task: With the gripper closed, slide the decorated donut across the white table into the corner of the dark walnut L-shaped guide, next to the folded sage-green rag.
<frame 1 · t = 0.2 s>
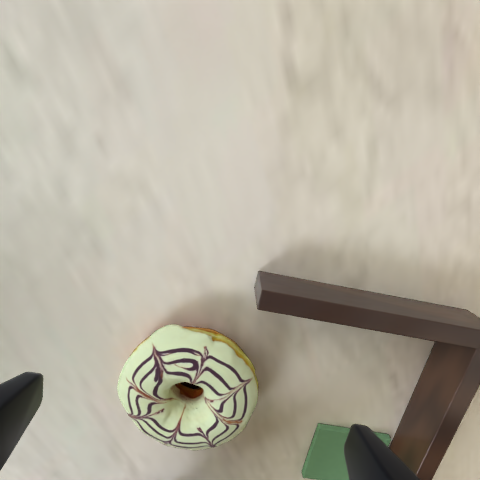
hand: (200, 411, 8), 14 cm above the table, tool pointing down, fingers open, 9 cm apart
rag: (344, 452, 28), on the table
corner guide: (443, 322, 24), on the table
decorated donut: (193, 368, 25), on the table
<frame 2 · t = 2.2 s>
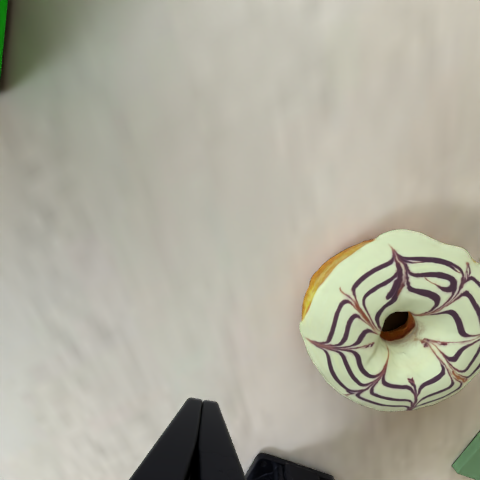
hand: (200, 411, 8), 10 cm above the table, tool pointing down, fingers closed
decorated donut: (378, 305, 19), on the table
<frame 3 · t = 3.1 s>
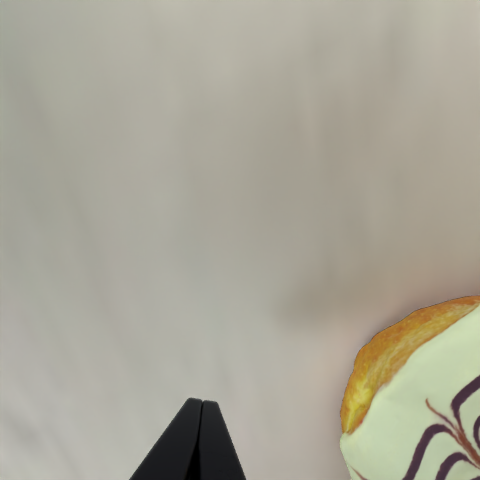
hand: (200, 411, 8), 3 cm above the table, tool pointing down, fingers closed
decorated donut: (458, 390, 12), on the table
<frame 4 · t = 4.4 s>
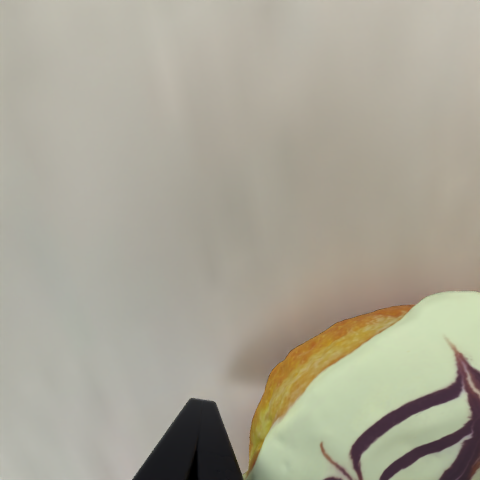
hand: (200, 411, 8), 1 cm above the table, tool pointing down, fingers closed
decorated donut: (401, 417, 10), on the table, touching gripper
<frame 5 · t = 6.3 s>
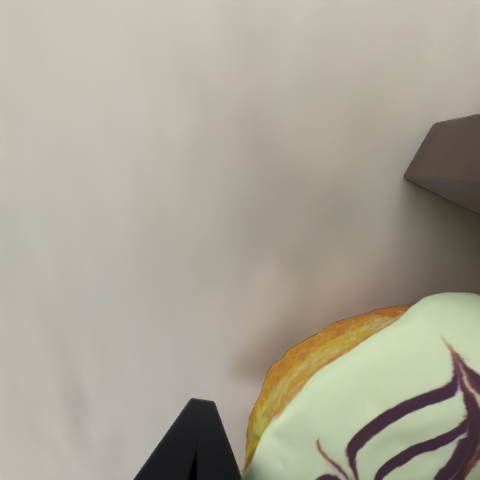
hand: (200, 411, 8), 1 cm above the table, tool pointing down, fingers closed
decorated donut: (397, 417, 10), on the table, touching gripper
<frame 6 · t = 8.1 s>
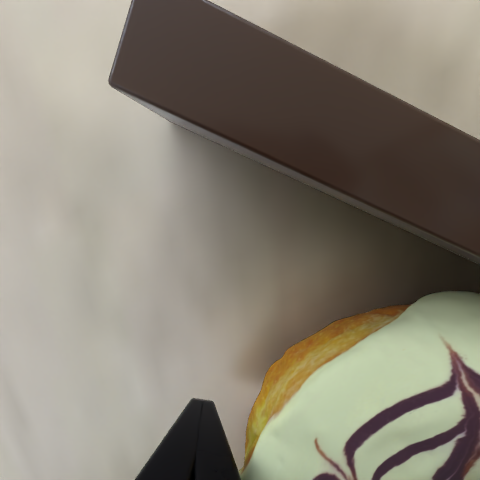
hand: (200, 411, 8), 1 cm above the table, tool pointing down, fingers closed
decorated donut: (398, 417, 10), on the table, touching gripper
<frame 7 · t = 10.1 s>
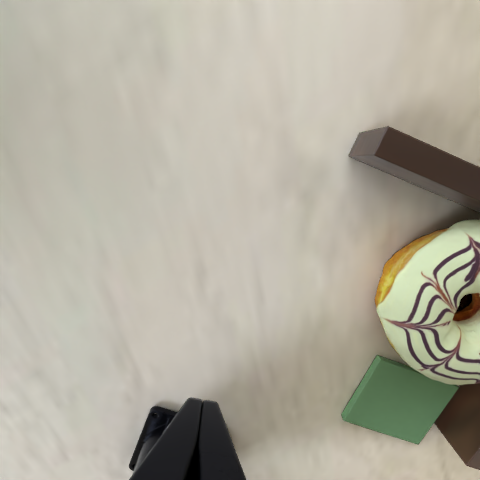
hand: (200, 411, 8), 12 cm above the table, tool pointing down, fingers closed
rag: (396, 398, 23), on the table
decorated donut: (441, 290, 21), on the table
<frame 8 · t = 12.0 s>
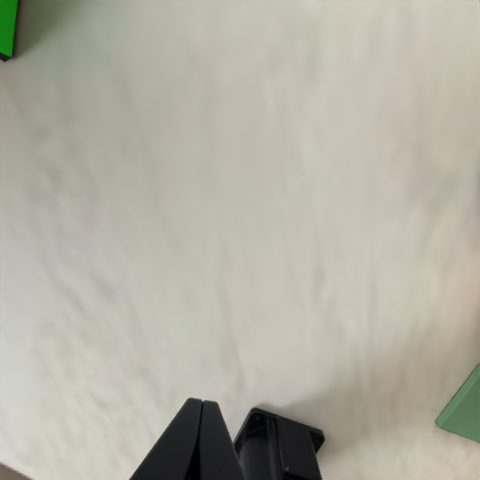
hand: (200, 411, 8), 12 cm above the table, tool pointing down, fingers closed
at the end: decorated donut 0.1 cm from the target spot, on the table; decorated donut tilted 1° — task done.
